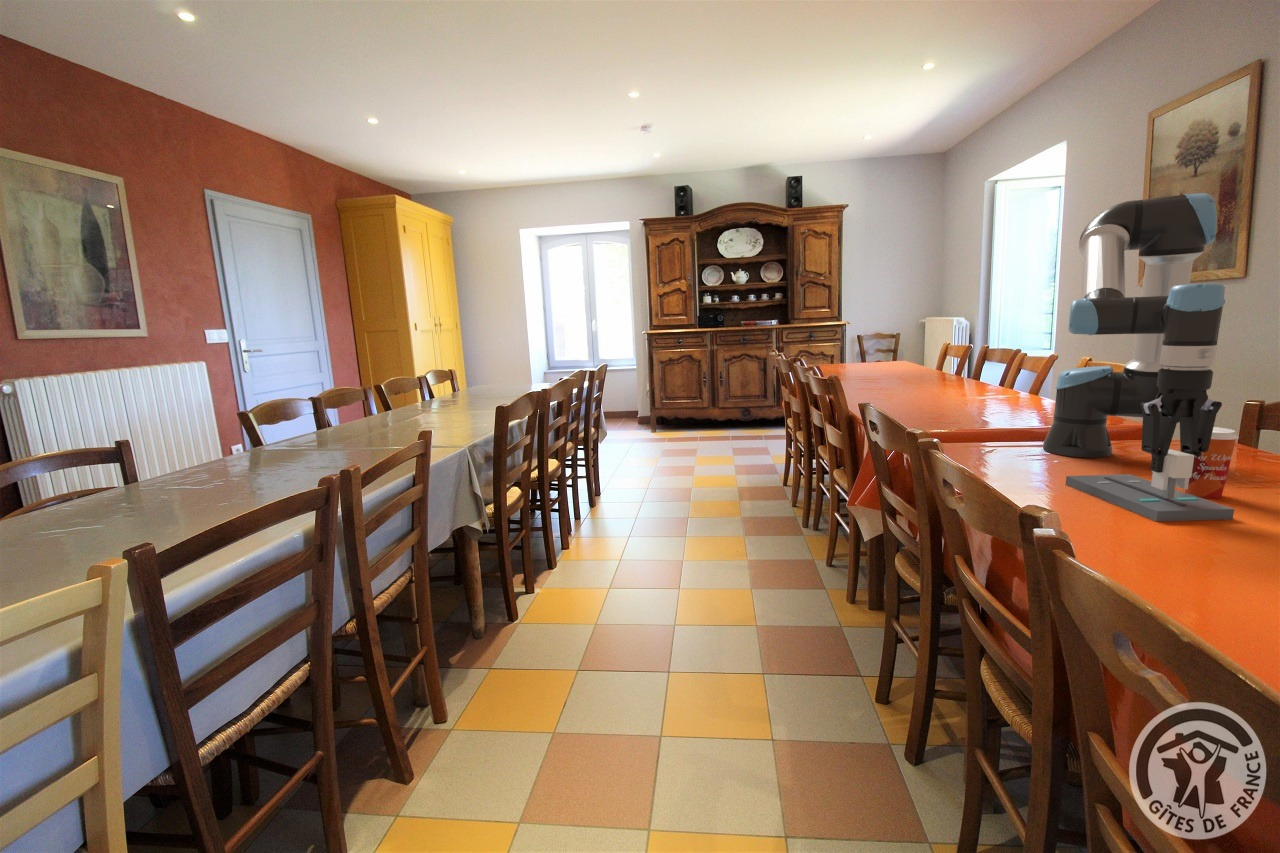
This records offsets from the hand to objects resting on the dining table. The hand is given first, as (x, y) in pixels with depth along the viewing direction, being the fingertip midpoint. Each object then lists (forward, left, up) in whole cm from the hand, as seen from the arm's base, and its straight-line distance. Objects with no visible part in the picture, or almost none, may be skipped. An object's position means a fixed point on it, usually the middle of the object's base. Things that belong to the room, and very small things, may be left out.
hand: (1169, 487), depth 112 cm
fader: (0, 0, -2) cm, 2 cm away
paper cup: (-8, +15, -5) cm, 18 cm away
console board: (-6, 0, -5) cm, 8 cm away
